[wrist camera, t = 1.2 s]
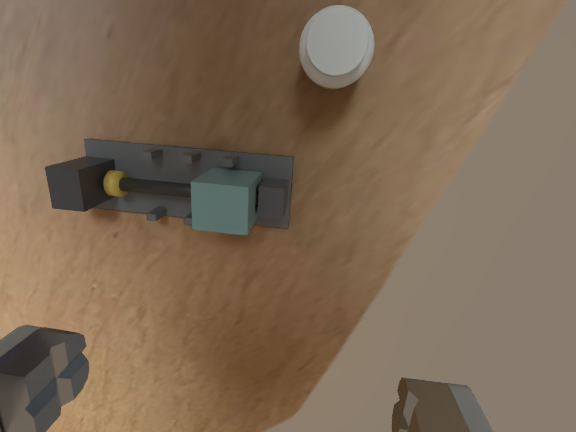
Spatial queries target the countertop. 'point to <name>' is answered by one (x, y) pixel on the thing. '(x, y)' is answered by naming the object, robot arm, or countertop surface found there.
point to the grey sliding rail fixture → (162, 179)
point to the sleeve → (225, 201)
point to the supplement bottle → (336, 47)
